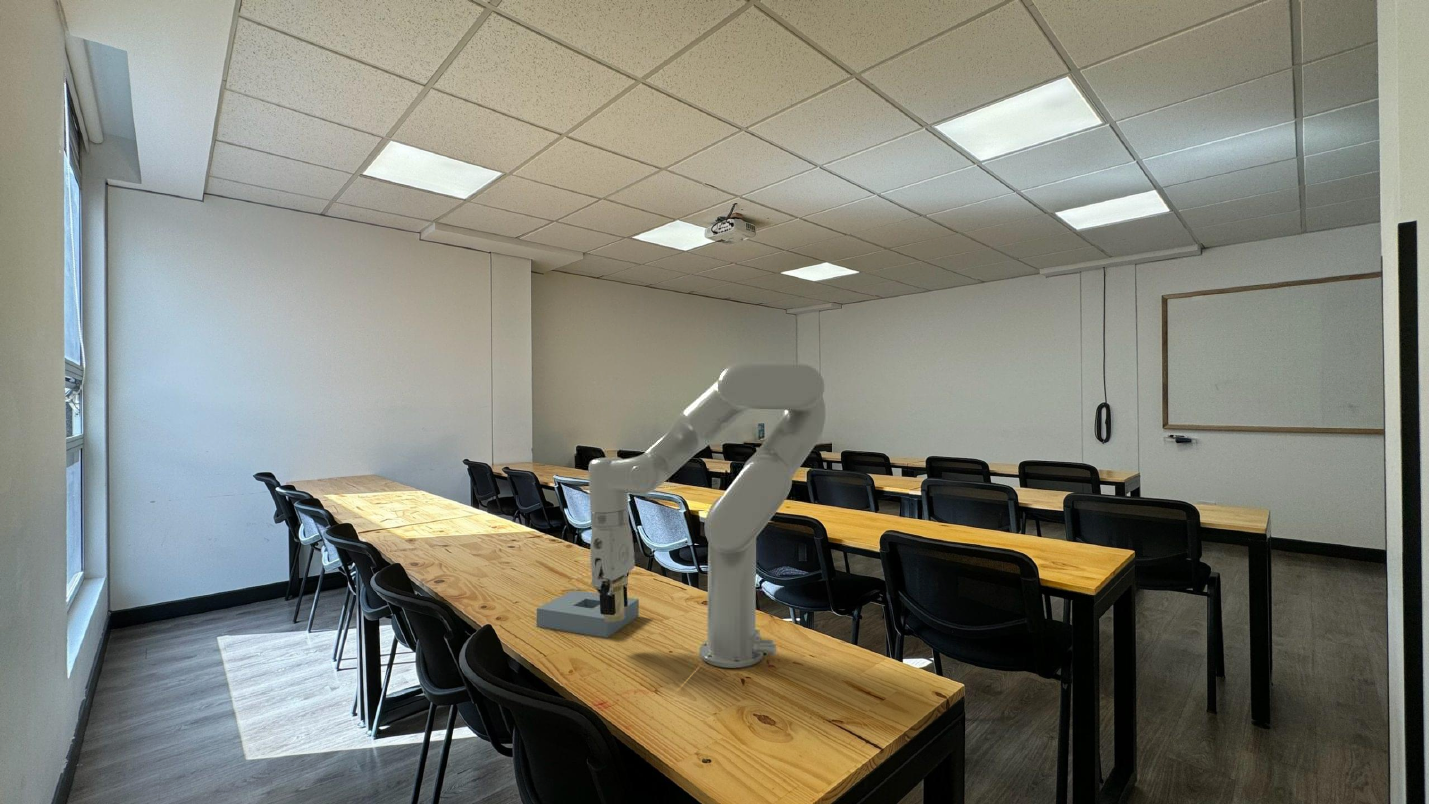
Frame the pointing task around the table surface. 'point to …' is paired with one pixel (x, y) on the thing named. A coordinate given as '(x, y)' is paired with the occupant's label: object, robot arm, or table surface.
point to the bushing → (617, 599)
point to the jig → (582, 614)
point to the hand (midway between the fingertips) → (614, 609)
